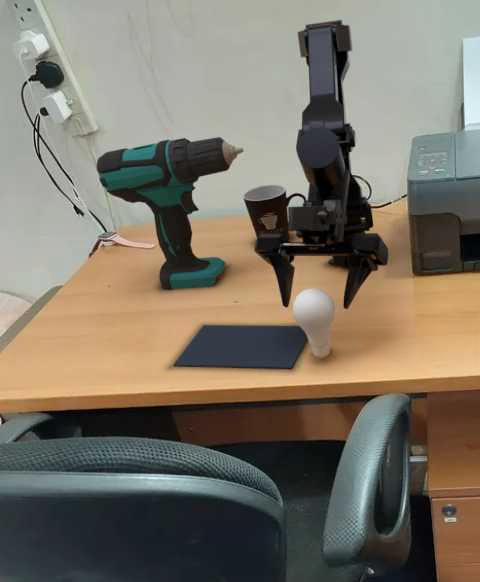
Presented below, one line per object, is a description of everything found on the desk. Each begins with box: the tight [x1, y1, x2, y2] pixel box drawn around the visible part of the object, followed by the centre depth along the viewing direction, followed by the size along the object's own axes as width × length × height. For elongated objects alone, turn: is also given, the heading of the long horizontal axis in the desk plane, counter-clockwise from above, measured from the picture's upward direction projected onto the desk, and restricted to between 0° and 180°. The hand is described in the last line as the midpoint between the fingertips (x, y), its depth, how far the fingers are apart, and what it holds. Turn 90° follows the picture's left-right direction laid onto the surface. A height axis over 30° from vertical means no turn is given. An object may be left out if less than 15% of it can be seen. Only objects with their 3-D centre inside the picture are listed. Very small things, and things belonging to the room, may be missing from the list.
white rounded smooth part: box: [291, 287, 336, 359], centre depth 96 cm, size 6×6×11 cm
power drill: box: [96, 136, 244, 291], centre depth 120 cm, size 26×9×25 cm, turn 84°
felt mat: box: [173, 324, 308, 370], centre depth 105 cm, size 20×12×1 cm, turn 77°
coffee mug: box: [242, 184, 307, 241], centre depth 134 cm, size 12×9×10 cm
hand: (315, 307), depth 95 cm, fingers open, 9 cm apart
